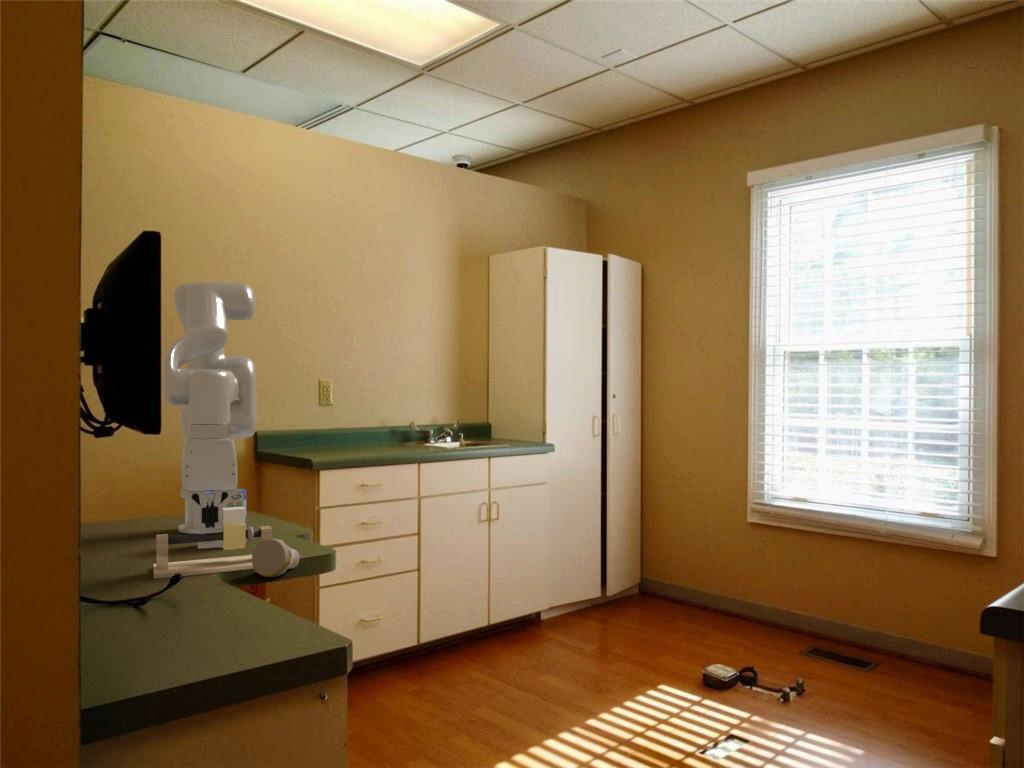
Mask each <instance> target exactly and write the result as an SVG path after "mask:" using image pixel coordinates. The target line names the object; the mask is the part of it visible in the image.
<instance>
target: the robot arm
mask: <svg viewBox="0 0 1024 768" xmlns="http://www.w3.org/2000/svg"><path fill="white" fill-rule="evenodd" d="M173 295H174V296H173V297H174V298H173V300H174V306H175V310H176V313H177V316H178V319H179V321H180V323H181V326H182V327H183V330H184V334H182V335H181V336H180V337H179V338H178V339H176V340H175V341H174V342H173V343H172V344H171V346H170V347H169V348H168V350H167V351H166V354H165V356H164V359H163V361H162V362H163V364H162V382H161V383H162V384H161V385H162V387H161V388H162V389H161V390H162V395H163V399H164V400H165V402H167V403H168V404H169V405H171V406H176V407H182V409H181V412H180V422H181V430H182V437H183V448H182V452H181V453H182V455H181V456H182V457H181V467H180V468H181V471H180V481H181V483H180V484H181V489H180V493H179V496H180V498H182V499H184V519H185V520H184V522H185V523H181V524H179V525H178V527H177V529H178V532H179V533H182V534H187V535H191V534H198V504H199V505H200V506H201V507H202V523H205V527H206V528H209V527H210V526H211V527H212V528H215V522H218V506H220V504H221V503H222V502H223V501H224V500H225V499H226V498H227V497H231V496H234V495H237V494H239V490H238V489H239V487H238V481H239V479H238V476H239V474H238V460H237V454H236V453H237V452H236V444H235V440H234V439H244V438H245V439H246V438H250V437H253V436H254V435H255V433H256V431H257V426H258V394H257V393H258V391H257V390H258V389H257V370H256V366H255V363H254V361H253V360H252V359H251V358H250V357H247V356H242V355H225V346H226V344H227V343H228V340H229V336H230V335H229V322H228V321H247V322H248V321H251V320H252V319H253V317H254V315H255V312H256V304H257V303H256V296H255V292H254V289H253V288H252V287H251V286H250V284H245V283H239V282H224V281H223V282H219V281H218V282H217V281H201V282H189V283H187V282H186V283H182V284H180V285H178V286H177V287H176V288H175V290H174V294H173ZM185 364H186V368H181V367H182V366H183V365H185ZM236 398H237V399H236ZM225 490H227V491H225ZM209 491H214V496H213V502H212V503H211V506H210V507H209V504H208V503H207V500H206V495H205V492H209ZM222 491H223V492H222Z"/></svg>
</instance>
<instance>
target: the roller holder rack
mask: <svg viewBox="0 0 1024 768" xmlns="http://www.w3.org/2000/svg"><path fill="white" fill-rule="evenodd" d="M155 536H156V537H155V539H156V541H155V542H156V543H155V546H156V547H155V548H156V551H155V552H156V563H153V564H152V565H153V580H157V579H167V578H173V577H172V576H174V575H175V574H178V573H180V574H181V575H182V576H181V577H185V576H187V577H188V576H196V575H197V576H198V575H208V574H215V573H216V574H217V573H223V572H224V573H225V572H227V573H228V572H234V571H244V570H254V568H253V565H252V554H245V555H244V554H243V555H237V556H236V555H235V556H224V557H213V558H212V557H211V558H204V559H191V560H183V561H182V560H181V561H172V562H171V561H169V546H170V545H182V544H194V543H196V544H197V543H198V542H208V541H219V540H223V532H216V533H204V534H182V535H181V534H179V535H169V534H168V533H163V534H156V535H155ZM245 538H246V542H251V541H252V542H253V541H254V539H255V538H259V544H260V543H261V542H262V541H264V540H267V539H273V527H272V526H271V525H265V526H263V525H262V526H259V528H257V529H256V528H254V526H246V530H245Z"/></svg>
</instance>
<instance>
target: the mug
mask: <svg viewBox="0 0 1024 768" xmlns="http://www.w3.org/2000/svg"><path fill="white" fill-rule="evenodd" d="M251 555H252V565H253V568H254V569H253V570H254V572H255V573H257V574H259V575H260V576H261V577H266V578H276V577H279V576H281V575H283V574H284V573H286V572H287V570H293V569H295V568H296V567H297V566H298V564H299V562H300V553H299V552H298V551H297V550H296V549H293V548H291V547H290V546H289V544H287V543H286V542H285V541H283V540H282V539H278V538H272V539H267V540H264V541H262V542H261V543H260V542H259V543H258V544H257V545H256V546H255V548H254V550H253V551H252V553H251Z"/></svg>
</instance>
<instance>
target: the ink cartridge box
mask: <svg viewBox="0 0 1024 768" xmlns="http://www.w3.org/2000/svg"><path fill="white" fill-rule="evenodd" d="M238 490H239V494H237V495H234V496H231V497H227V498H226V499H225V500H224V501H223V502H222V503H221V504H220V506H218V522H215V528H212V527H211V526H210V527H209V528H206V527H205V523H202V507H201V506H200V505H199V504H198V534H204V533H216V532H222V508H229V507H244V508H245V530H247V490H246V488H238ZM225 491H227V490H225ZM222 492H223V491H222ZM205 495H206V500H207V503H208V504H209V507H210V506H211V503H212V502H213V496H214V491H209V492H205ZM246 543H247V538H245V544H246ZM217 548H219V549H220V548H223V547H222V540H219V541H208V542H197V548H196V549H197V550H201V549H202V550H203V549H217Z"/></svg>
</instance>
